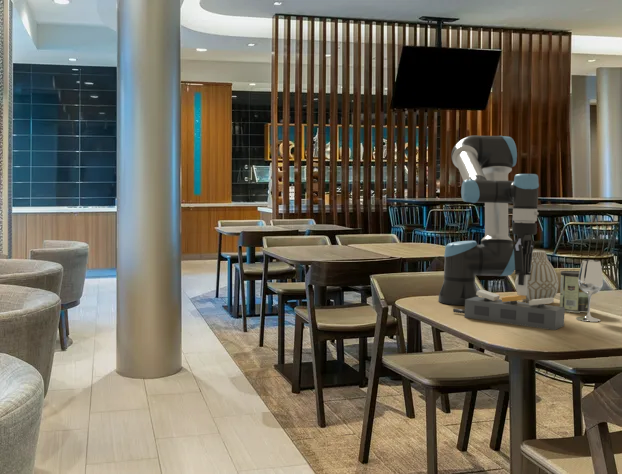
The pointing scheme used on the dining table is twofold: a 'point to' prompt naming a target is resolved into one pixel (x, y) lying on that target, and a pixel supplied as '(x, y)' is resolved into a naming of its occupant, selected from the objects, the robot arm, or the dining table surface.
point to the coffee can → (572, 293)
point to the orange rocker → (513, 298)
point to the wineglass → (590, 283)
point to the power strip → (514, 313)
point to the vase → (540, 278)
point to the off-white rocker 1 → (488, 295)
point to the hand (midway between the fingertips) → (522, 294)
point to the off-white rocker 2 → (541, 301)
